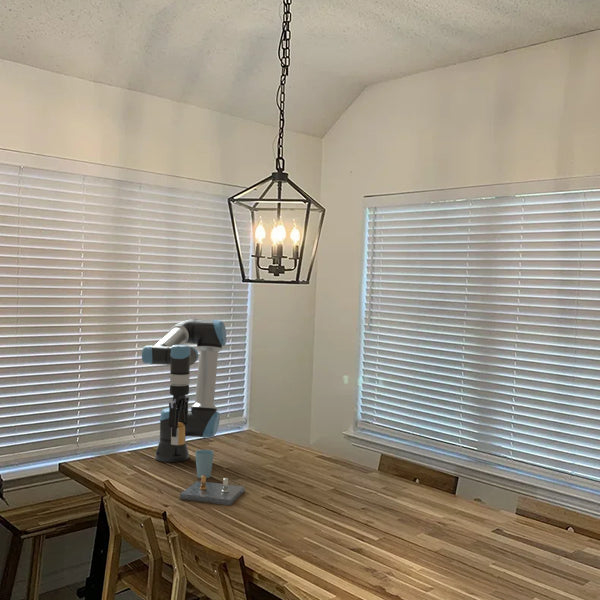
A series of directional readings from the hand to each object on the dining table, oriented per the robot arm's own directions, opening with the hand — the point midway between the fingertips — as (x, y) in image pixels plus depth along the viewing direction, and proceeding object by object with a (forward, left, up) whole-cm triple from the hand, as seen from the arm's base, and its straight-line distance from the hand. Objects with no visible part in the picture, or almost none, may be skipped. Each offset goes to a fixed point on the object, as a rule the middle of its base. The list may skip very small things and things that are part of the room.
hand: (177, 442), depth 248 cm
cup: (-16, +5, -18) cm, 24 cm away
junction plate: (+4, +17, -18) cm, 25 cm away
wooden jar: (0, 0, 0) cm, 0 cm away
